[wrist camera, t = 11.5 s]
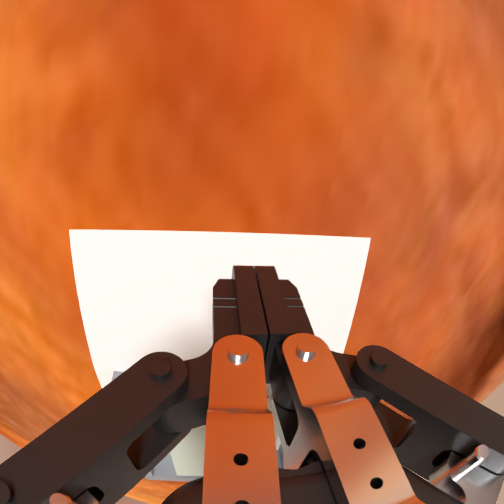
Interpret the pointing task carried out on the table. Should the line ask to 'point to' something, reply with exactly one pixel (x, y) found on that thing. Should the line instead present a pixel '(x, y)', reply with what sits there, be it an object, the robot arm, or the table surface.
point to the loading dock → (199, 292)
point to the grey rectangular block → (196, 451)
